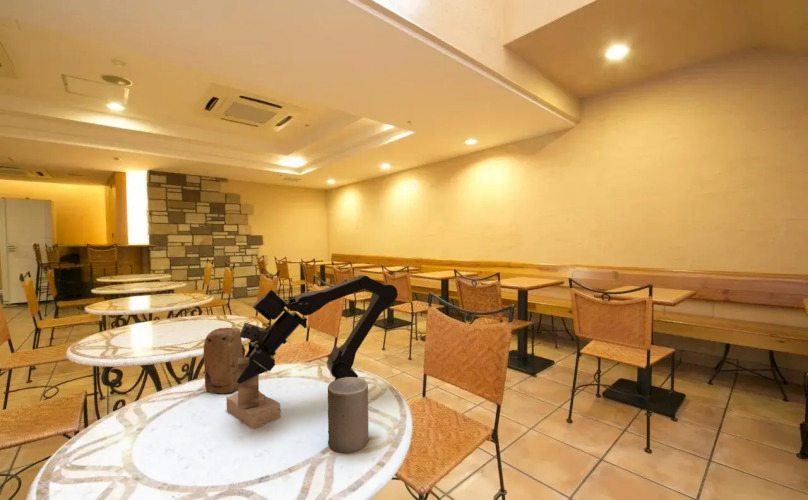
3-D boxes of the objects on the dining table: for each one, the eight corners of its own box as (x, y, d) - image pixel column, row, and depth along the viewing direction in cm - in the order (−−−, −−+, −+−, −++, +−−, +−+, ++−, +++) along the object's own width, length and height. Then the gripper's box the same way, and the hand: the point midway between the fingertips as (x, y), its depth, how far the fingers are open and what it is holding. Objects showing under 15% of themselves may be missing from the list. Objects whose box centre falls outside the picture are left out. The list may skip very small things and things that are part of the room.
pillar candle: (319, 444, 79) (318, 382, 79) (348, 425, 87) (347, 368, 87) (349, 459, 74) (348, 392, 74) (377, 437, 82) (376, 376, 82)
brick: (282, 418, 93) (282, 401, 93) (252, 431, 86) (252, 413, 86) (253, 401, 103) (253, 386, 103) (225, 412, 97) (224, 396, 97)
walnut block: (257, 398, 95) (257, 355, 95) (258, 405, 91) (258, 361, 91) (238, 401, 93) (238, 358, 93) (238, 409, 89) (237, 364, 88)
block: (245, 385, 114) (244, 326, 114) (232, 395, 107) (230, 332, 107) (215, 384, 115) (213, 326, 115) (200, 394, 108) (198, 332, 108)
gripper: (257, 306, 101) (216, 349, 96) (259, 318, 84) (210, 370, 79) (285, 329, 104) (247, 371, 100) (293, 345, 87) (247, 396, 83)
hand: (238, 376), depth 90 cm, fingers open, 9 cm apart
